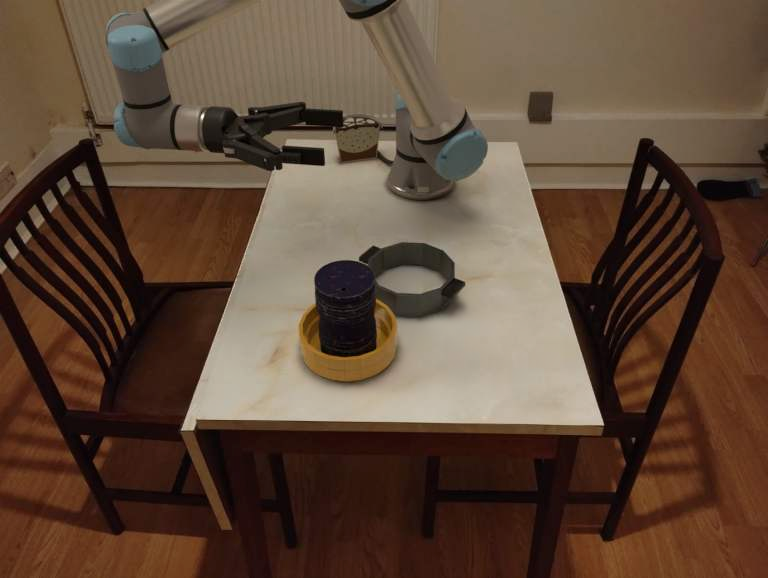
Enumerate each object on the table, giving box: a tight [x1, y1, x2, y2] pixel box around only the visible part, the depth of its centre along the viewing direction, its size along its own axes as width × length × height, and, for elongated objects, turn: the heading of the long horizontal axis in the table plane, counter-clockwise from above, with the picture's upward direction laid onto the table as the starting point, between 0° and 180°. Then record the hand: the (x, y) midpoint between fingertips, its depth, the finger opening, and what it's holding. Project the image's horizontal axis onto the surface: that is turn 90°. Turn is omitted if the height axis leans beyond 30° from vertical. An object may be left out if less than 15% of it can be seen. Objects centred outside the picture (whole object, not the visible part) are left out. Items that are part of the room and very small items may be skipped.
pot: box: [358, 241, 466, 318], centre depth 126 cm, size 21×16×5 cm
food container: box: [332, 113, 383, 164], centre depth 167 cm, size 12×6×10 cm, turn 105°
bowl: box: [298, 299, 398, 382], centre depth 114 cm, size 16×16×6 cm
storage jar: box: [313, 259, 377, 357], centre depth 110 cm, size 10×10×15 cm
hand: (334, 137), depth 108 cm, fingers open, 13 cm apart
